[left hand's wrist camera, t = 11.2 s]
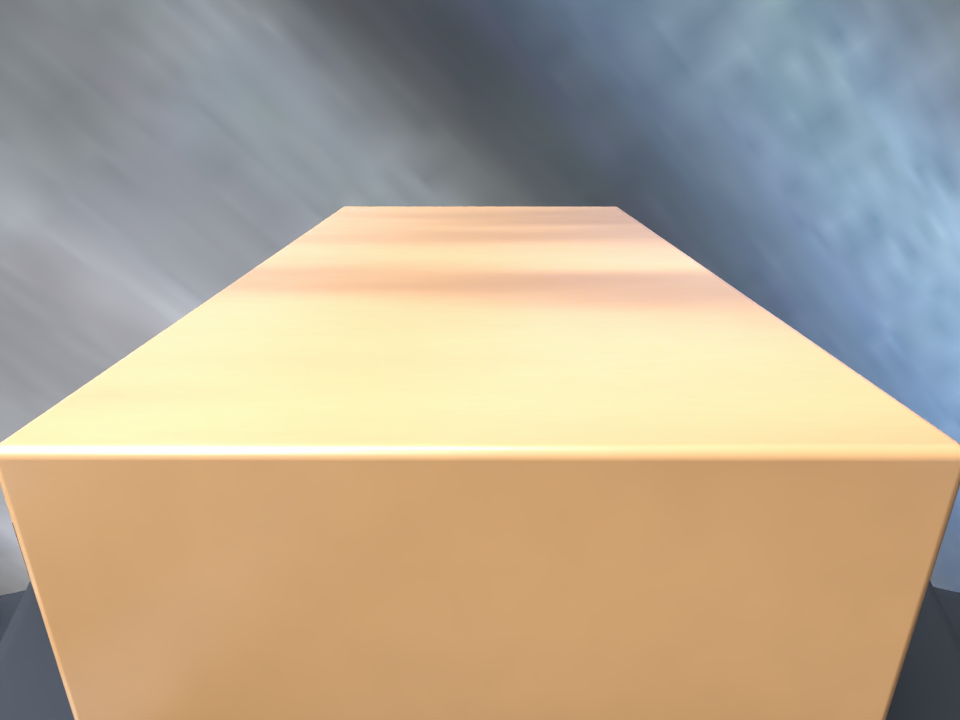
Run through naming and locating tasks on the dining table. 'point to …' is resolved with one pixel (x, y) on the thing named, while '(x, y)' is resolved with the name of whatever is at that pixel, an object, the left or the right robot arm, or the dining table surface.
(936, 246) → the dining table surface
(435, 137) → the dining table surface
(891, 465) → the long box
